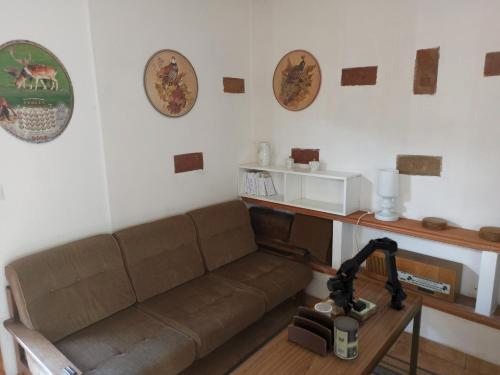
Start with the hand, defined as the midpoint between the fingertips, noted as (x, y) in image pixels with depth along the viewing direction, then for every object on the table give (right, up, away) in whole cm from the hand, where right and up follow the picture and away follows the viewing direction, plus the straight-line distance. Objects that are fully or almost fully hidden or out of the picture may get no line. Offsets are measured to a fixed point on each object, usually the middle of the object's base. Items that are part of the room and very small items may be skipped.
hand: (346, 315), depth 181 cm
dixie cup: (-13, -3, -5) cm, 14 cm away
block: (-6, 0, +7) cm, 9 cm away
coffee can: (-7, -7, -25) cm, 27 cm away
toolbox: (+9, 0, +3) cm, 10 cm away
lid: (+9, +3, +3) cm, 10 cm away
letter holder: (-21, -6, -18) cm, 28 cm away
